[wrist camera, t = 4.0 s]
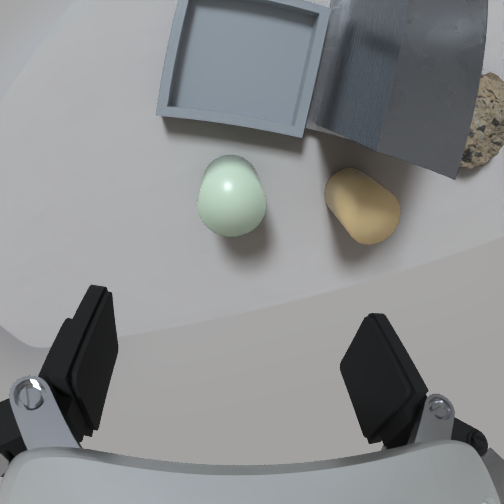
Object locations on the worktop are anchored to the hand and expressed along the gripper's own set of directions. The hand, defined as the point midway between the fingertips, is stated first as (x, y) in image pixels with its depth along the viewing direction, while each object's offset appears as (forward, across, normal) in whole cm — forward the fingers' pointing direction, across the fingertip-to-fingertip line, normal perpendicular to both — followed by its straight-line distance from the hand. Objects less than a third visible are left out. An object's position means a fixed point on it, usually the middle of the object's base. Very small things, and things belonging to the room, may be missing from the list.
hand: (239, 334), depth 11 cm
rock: (+18, -22, -13) cm, 32 cm away
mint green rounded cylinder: (+18, 0, 0) cm, 18 cm away
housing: (+18, -9, -13) cm, 24 cm away
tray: (+18, +1, -11) cm, 21 cm away
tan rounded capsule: (+18, -11, -1) cm, 21 cm away
